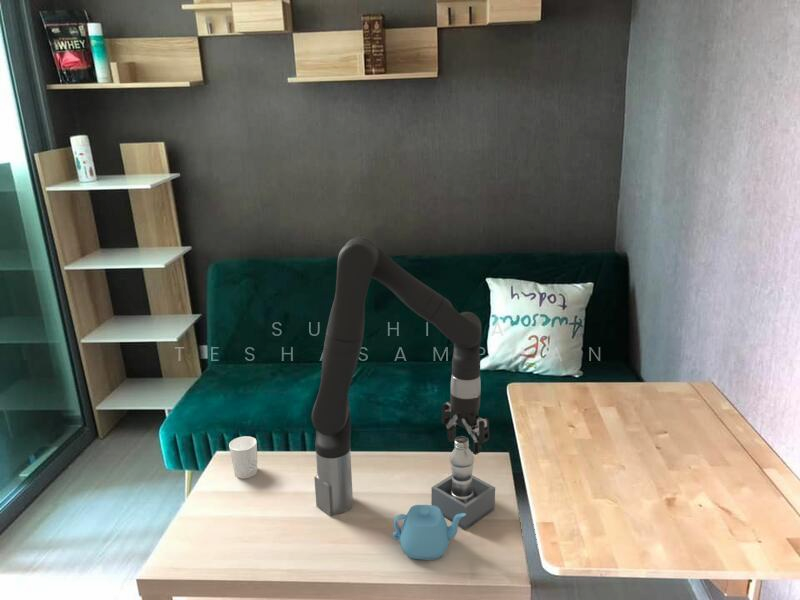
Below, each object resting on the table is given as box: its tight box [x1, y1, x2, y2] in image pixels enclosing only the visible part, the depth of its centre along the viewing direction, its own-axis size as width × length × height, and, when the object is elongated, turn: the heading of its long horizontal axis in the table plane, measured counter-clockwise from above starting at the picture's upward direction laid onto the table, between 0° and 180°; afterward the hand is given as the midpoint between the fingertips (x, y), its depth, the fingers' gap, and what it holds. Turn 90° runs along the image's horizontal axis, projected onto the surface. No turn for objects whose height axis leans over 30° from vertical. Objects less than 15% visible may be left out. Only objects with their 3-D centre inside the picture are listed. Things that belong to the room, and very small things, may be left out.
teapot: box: [392, 504, 466, 561], centre depth 156 cm, size 13×11×18 cm
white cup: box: [228, 435, 258, 480], centre depth 187 cm, size 8×8×10 cm
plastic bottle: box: [449, 435, 475, 504], centre depth 167 cm, size 6×7×20 cm
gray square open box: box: [431, 474, 496, 531], centre depth 170 cm, size 12×12×7 cm
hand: (464, 446), depth 164 cm, fingers open, 8 cm apart
